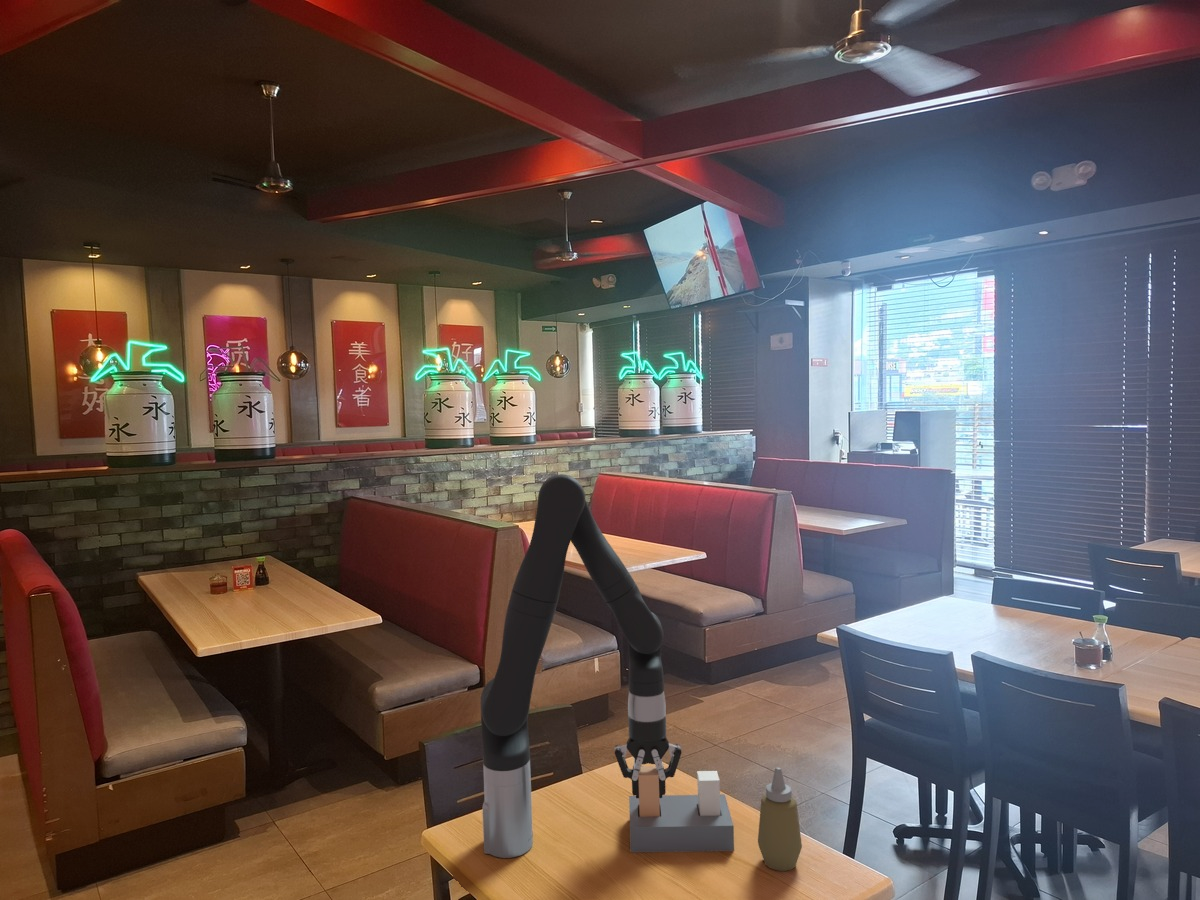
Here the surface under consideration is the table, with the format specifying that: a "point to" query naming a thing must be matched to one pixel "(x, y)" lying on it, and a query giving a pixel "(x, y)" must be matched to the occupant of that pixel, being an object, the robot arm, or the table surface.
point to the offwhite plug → (708, 793)
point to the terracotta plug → (649, 792)
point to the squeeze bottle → (779, 826)
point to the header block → (680, 827)
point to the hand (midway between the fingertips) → (649, 795)
